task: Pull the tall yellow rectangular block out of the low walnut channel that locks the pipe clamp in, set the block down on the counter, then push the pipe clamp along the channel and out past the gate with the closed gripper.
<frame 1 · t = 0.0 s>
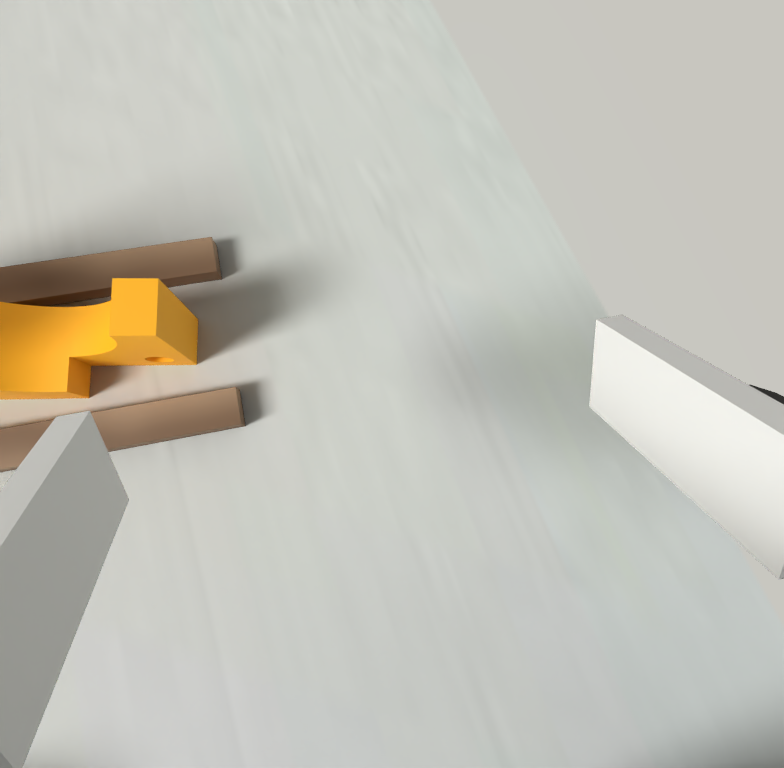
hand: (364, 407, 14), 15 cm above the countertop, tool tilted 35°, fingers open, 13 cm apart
pipe clamp: (85, 359, 28), on the countertop
channel: (1, 372, 28), on the countertop
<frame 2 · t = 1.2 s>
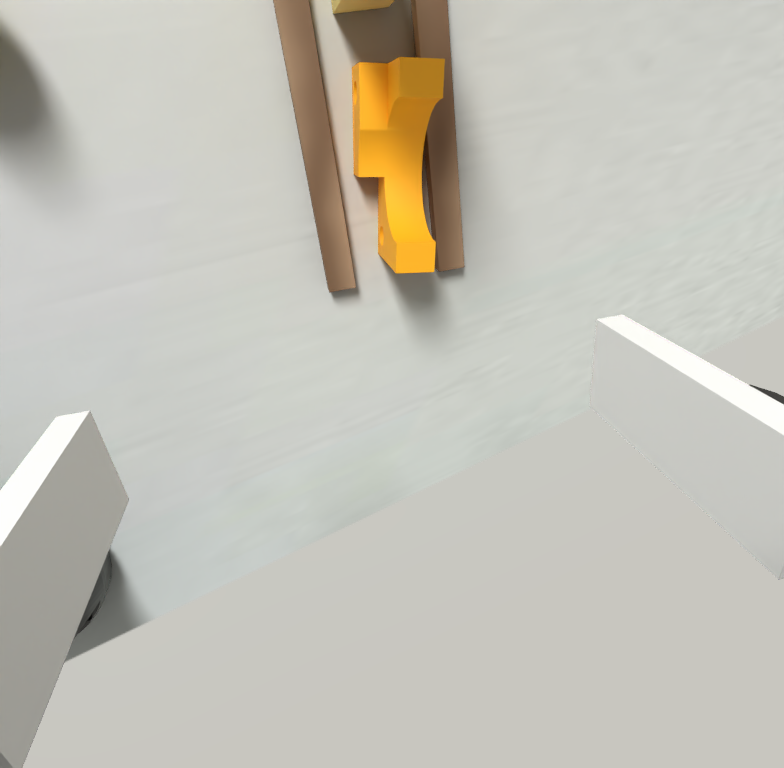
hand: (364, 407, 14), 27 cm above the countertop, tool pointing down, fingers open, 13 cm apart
pipe clamp: (383, 167, 37), on the countertop
channel: (372, 100, 35), on the countertop
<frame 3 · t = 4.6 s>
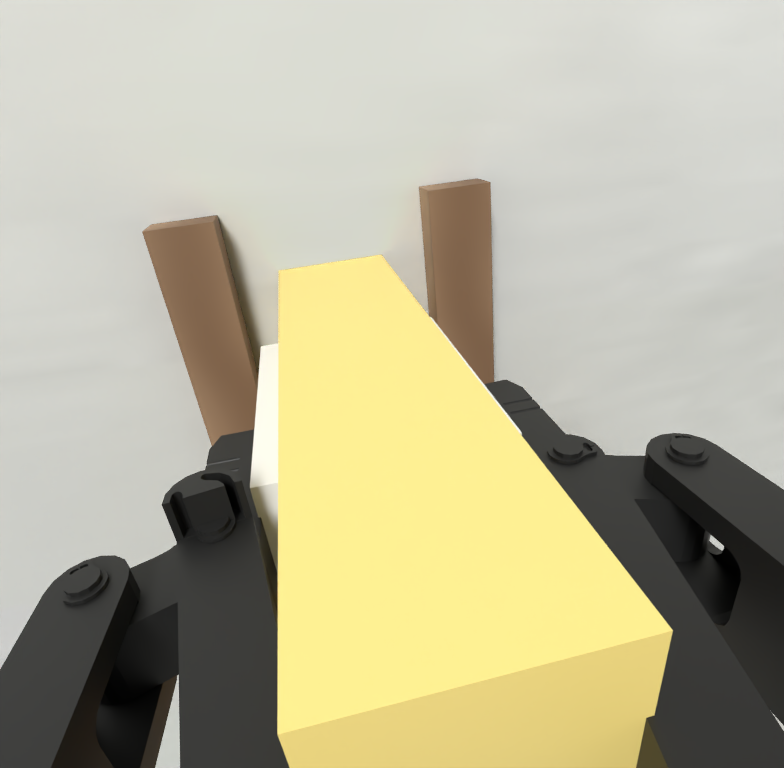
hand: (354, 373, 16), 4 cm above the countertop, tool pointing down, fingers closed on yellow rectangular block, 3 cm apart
channel: (368, 493, 22), on the countertop
yellow rectangular block: (341, 331, 19), on the countertop, touching gripper
when the fingers open (5 cm above the countertop, at t = 9.4 s): yellow rectangular block drops 1 cm, on the countertop.
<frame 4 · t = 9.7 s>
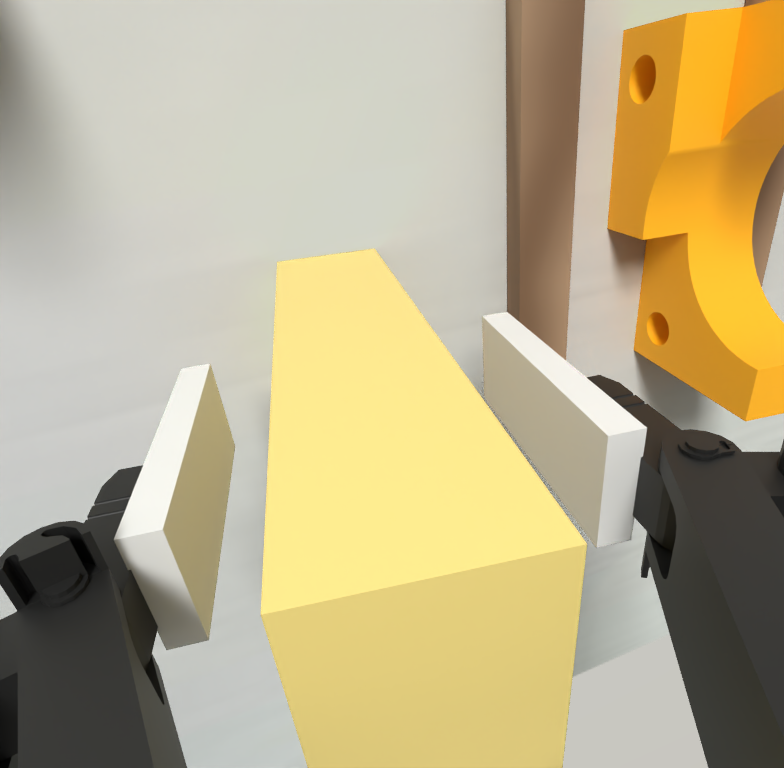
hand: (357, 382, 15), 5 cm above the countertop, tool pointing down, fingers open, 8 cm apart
pipe clamp: (653, 206, 21), on the countertop
channel: (650, 72, 18), on the countertop
yellow rectangular block: (336, 320, 20), on the countertop
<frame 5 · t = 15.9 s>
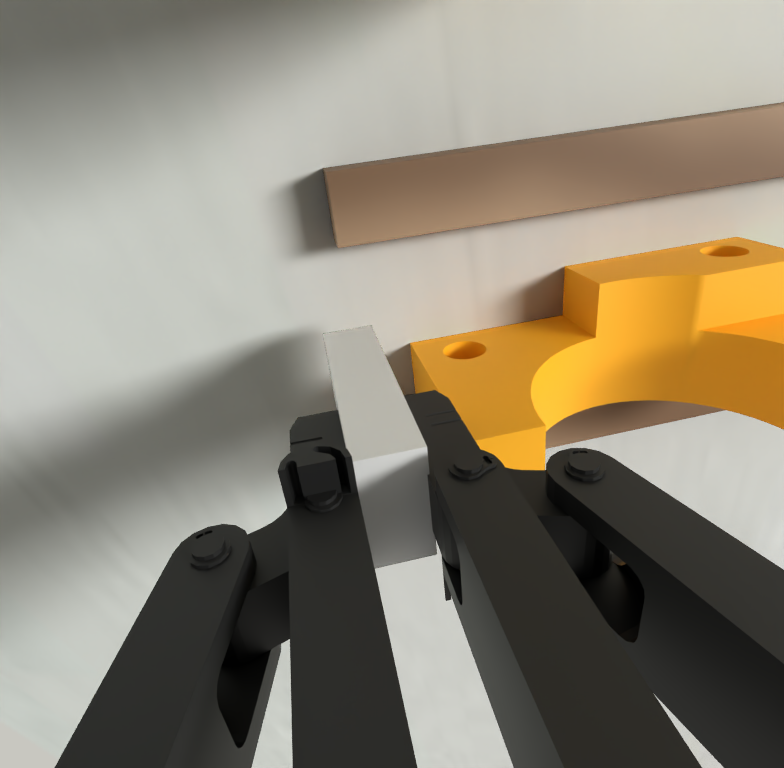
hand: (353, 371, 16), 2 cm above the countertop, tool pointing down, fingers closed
pipe clamp: (568, 319, 19), on the countertop
channel: (682, 278, 19), on the countertop
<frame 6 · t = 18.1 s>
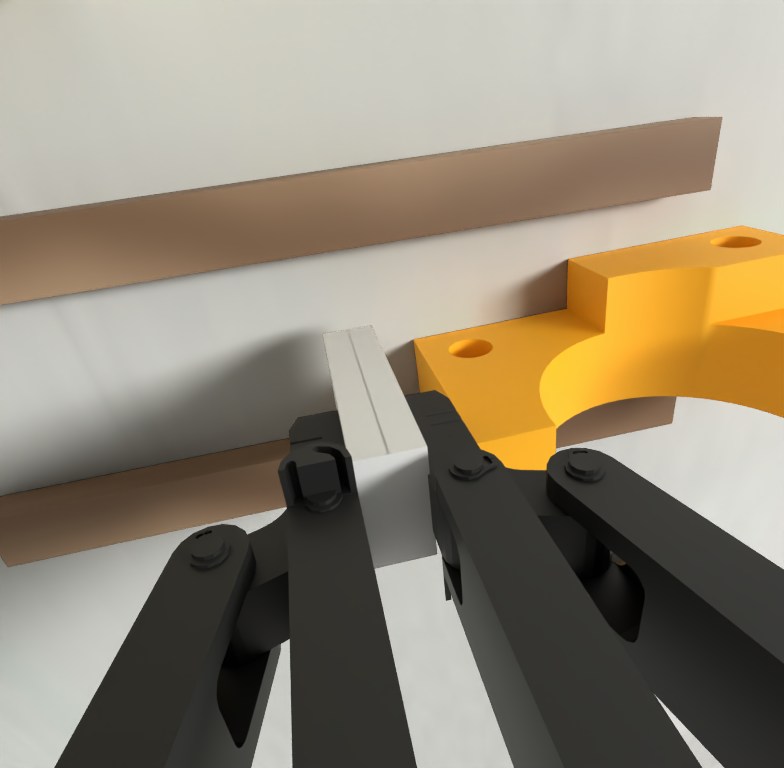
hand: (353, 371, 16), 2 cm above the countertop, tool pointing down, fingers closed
pipe clamp: (575, 315, 19), on the countertop, touching gripper
channel: (336, 342, 17), on the countertop
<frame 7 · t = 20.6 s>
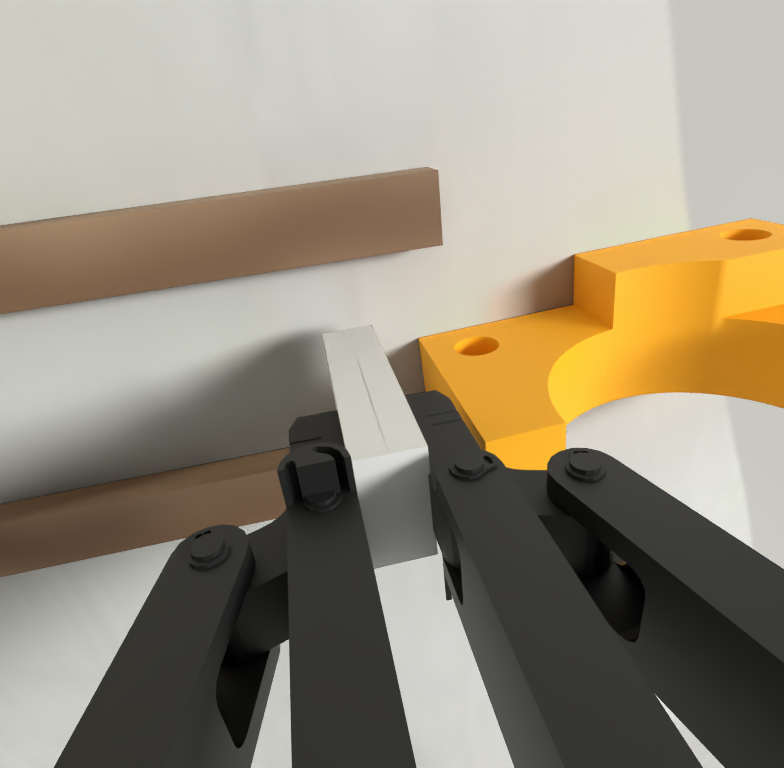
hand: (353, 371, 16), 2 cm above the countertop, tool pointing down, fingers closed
pipe clamp: (582, 311, 18), on the countertop, touching gripper
channel: (63, 401, 16), on the countertop
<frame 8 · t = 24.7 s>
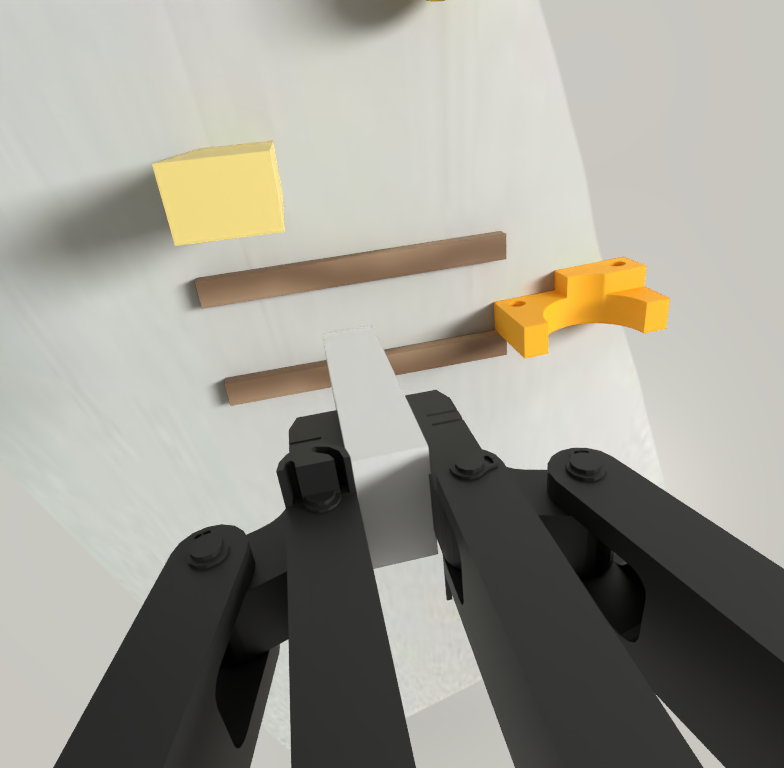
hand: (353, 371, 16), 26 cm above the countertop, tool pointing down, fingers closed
pipe clamp: (557, 292, 46), on the countertop
channel: (362, 317, 43), on the countertop
yellow rectangular block: (242, 171, 37), on the countertop
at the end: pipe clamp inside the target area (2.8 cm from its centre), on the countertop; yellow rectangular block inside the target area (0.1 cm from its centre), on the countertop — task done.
